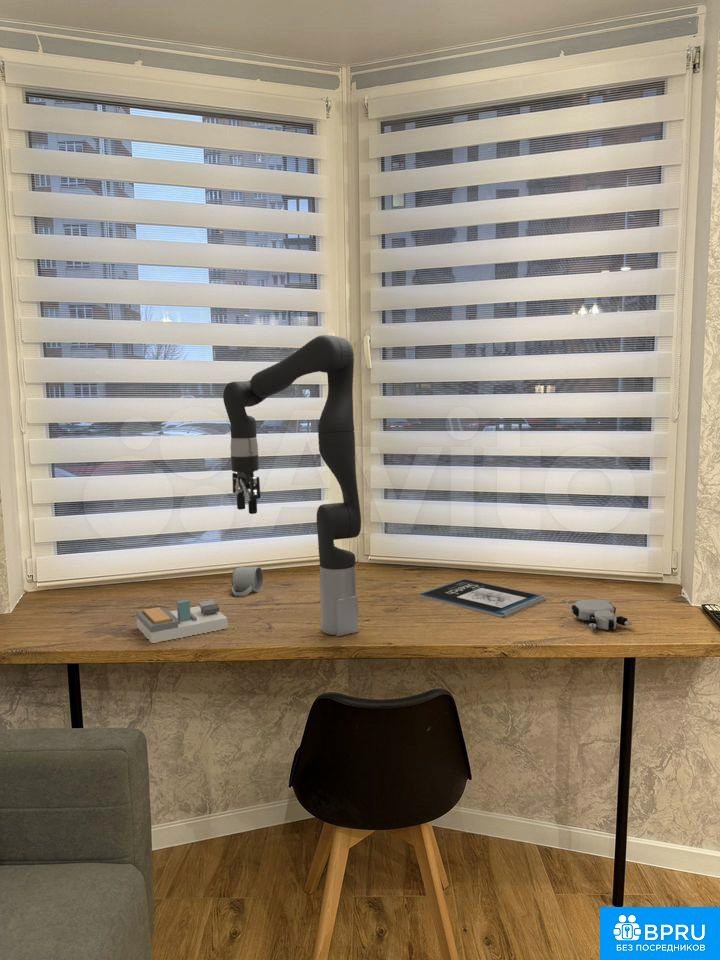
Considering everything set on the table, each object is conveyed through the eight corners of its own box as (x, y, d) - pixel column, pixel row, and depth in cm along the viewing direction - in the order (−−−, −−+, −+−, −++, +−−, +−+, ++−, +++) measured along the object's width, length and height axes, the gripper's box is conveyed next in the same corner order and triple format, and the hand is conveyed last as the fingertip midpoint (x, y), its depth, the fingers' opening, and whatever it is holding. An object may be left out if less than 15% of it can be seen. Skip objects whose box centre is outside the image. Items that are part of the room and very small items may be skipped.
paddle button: (171, 626, 185) (170, 618, 185) (155, 629, 183) (154, 621, 183) (158, 614, 195) (158, 607, 194) (143, 617, 193) (143, 609, 192)
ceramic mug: (240, 586, 231) (238, 562, 229) (264, 587, 229) (263, 563, 227) (226, 597, 220) (224, 572, 219) (251, 598, 219) (250, 573, 217)
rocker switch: (219, 614, 195) (219, 607, 195) (204, 617, 193) (204, 610, 193) (212, 606, 199) (213, 599, 199) (198, 608, 197) (198, 602, 197)
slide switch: (190, 619, 190) (189, 601, 190) (180, 621, 189) (179, 602, 188) (188, 617, 192) (187, 599, 191) (177, 619, 191) (176, 601, 190)
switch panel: (227, 628, 192) (227, 612, 191) (151, 644, 182) (150, 626, 181) (209, 614, 204) (208, 598, 203) (137, 628, 194) (136, 611, 193)
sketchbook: (464, 583, 232) (464, 576, 232) (547, 602, 211) (547, 595, 211) (419, 597, 217) (419, 590, 217) (504, 620, 196) (504, 612, 196)
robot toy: (634, 634, 185) (607, 611, 199) (636, 618, 184) (608, 596, 198) (588, 638, 183) (564, 614, 198) (589, 621, 182) (565, 599, 197)
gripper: (267, 455, 199) (269, 513, 201) (247, 451, 211) (249, 506, 213) (241, 457, 195) (244, 516, 197) (222, 452, 207) (225, 509, 209)
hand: (246, 511), depth 205 cm, fingers open, 8 cm apart
